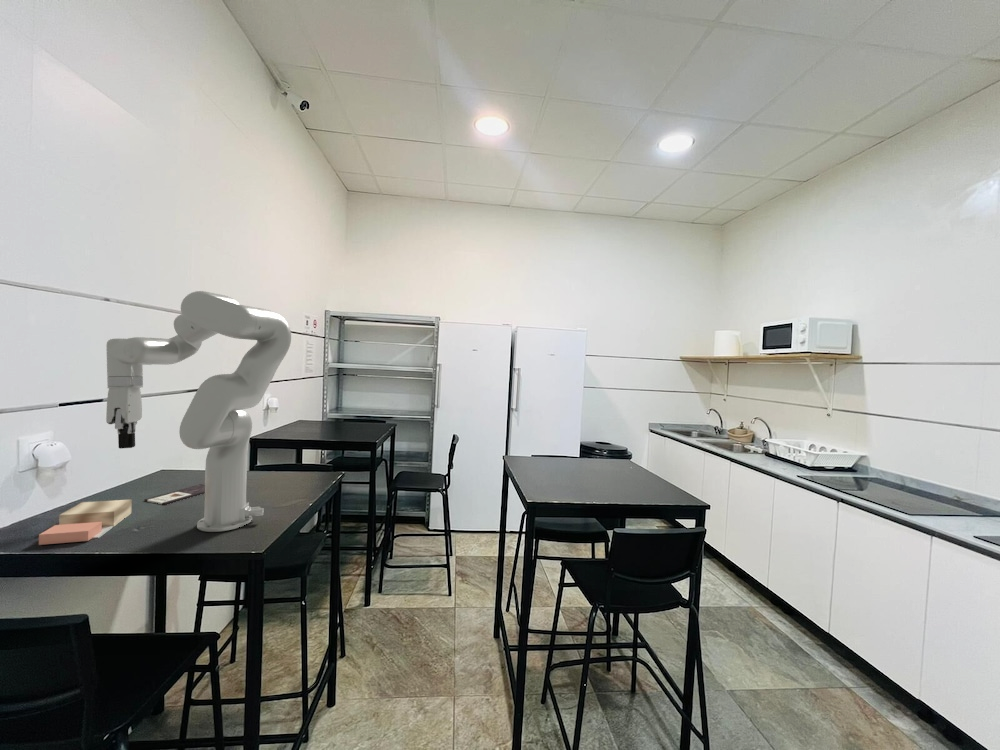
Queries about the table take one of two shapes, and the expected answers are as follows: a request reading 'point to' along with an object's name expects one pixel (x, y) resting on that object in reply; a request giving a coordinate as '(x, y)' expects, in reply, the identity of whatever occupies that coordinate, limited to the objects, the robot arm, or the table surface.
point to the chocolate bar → (177, 495)
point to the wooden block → (97, 512)
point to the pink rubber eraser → (70, 533)
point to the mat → (104, 530)
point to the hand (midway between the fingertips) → (127, 447)
